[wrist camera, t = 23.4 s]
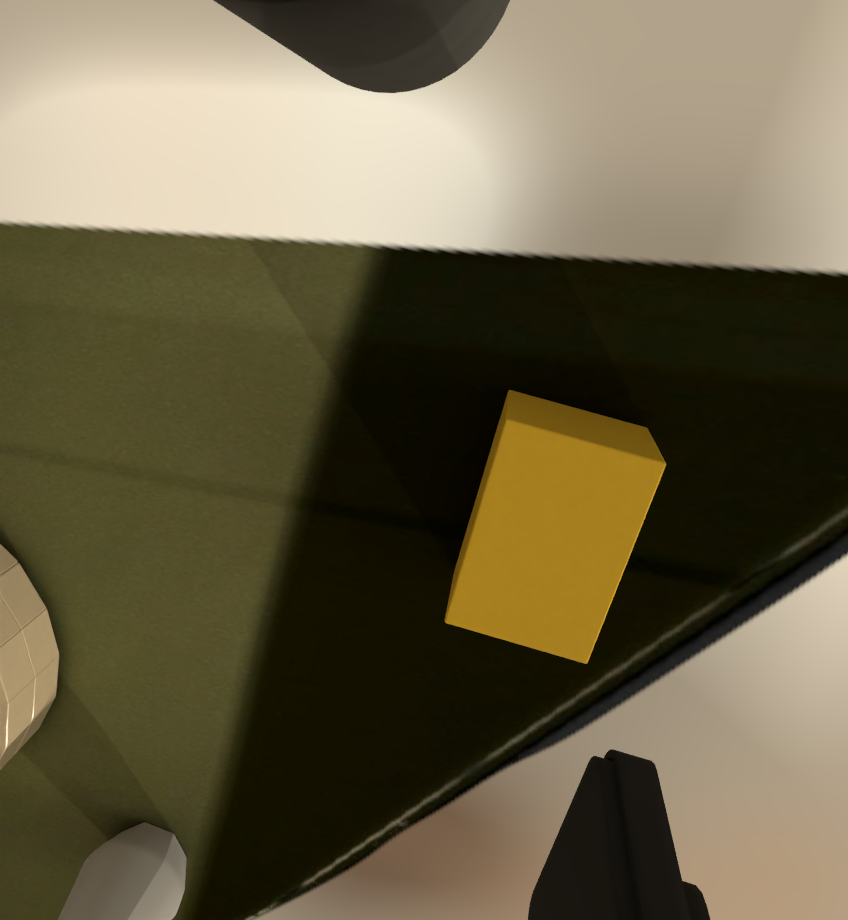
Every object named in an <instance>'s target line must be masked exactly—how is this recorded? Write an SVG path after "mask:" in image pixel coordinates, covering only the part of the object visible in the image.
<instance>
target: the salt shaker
mask: <svg viewBox="0 0 848 920" xmlns="http://www.w3.org/2000/svg"><path fill="white" fill-rule="evenodd" d="M185 874H186V856H185V854H184V852H183V850H182V848H181V846H180V844H179V843H178V841H177V839H176V837H175V835H174V834H173V833H171V832H168V831H166V830H163V829H161V828H158V827H156V826H153V825H151V824H148V823H146V822H143V823H141V824H139V825H136V826H134V827H132V828H129V829H127V830H125V831H122V832H121V833H119V834H118V835H116V836H115V837H114V838H112V839H110V840H109V841H107V842H105V843H104V844H102V845H101V846H100V847H99V848H97V849H96V850H95V851H94V852H92V853H91V854H90V856H89V857H88V858H87V859H86V860H85V862H84V864H83V866H82V868H81V871H80V873H79V875H78V877H77V879H76V881H75V884H74V886H73V888H72V890H71V892H70V895H69V897H68V899H67V901H66V903H65V905H64V908H63V910H62V912H61V914H60V916H59V919H58V920H172V919H173V917H174V916H175V915H176V913H177V910H178V908H179V905H180V902H181V899H182V896H183V893H184V890H185Z"/></svg>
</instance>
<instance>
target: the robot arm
mask: <svg viewBox="0 0 848 920" xmlns="http://www.w3.org/2000/svg"><path fill="white" fill-rule="evenodd" d="M528 920H710V917H709V913H708V909H707V905H706V903H705V900H704V897H703V894H702V892H701V891H700V890H699V889H698V888H697V886H696V885H693V884H690V883H687V882H684V881H682V878H681V874H680V870H679V865H678V861H677V857H676V852H675V848H674V843H673V839H672V835H671V830H670V826H669V822H668V817H667V813H666V808H665V804H664V800H663V795H662V791H661V787H660V782H659V778H658V774H657V770H656V767H655V764H654V763H653V762H652V761H650V760H646V759H643V758H639V757H636V756H633V755H629V754H626V753H623V752H619V751H616V750H609V751H608V752H607V753H606V755H605V757H604V759H603V758H600V757H597V756H593V757H592V758H591V759H590V761H589V763H588V765H587V768H586V770H585V772H584V775H583V777H582V779H581V782H580V784H579V786H578V788H577V791H576V793H575V795H574V798H573V800H572V803H571V805H570V807H569V809H568V812H567V815H566V817H565V819H564V821H563V823H562V826H561V828H560V831H559V833H558V835H557V837H556V840H555V842H554V844H553V847H552V849H551V851H550V854H549V856H548V858H547V861H546V863H545V865H544V868H543V870H542V872H541V875H540V877H539V879H538V882H537V884H536V886H535V889H534V891H533V894H532V898H531V902H530V908H529V915H528Z"/></svg>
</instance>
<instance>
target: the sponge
mask: <svg viewBox="0 0 848 920" xmlns="http://www.w3.org/2000/svg"><path fill="white" fill-rule="evenodd" d="M665 466H666V463H665V461H664V459H663V457H662V455H661V453H660V451H659V449H658V448H657V446H656V444H655V442H654V440H653V438H652V436H651V435H650V433H649V431H648V429H647V428H646V427H642V426H639V425H635V424H632V423H628V422H624V421H621V420H617V419H614V418H610V417H606V416H603V415H599V414H595V413H592V412H588V411H585V410H581V409H577V408H574V407H570V406H567V405H563V404H559V403H556V402H552V401H548V400H545V399H541V398H538V397H534V396H530V395H527V394H523V393H520V392H516V391H512V390H509V391H508V394H507V397H506V400H505V404H504V407H503V410H502V414H501V417H500V420H499V424H498V427H497V430H496V434H495V437H494V440H493V444H492V447H491V450H490V454H489V457H488V460H487V464H486V467H485V470H484V474H483V477H482V480H481V484H480V487H479V490H478V494H477V497H476V500H475V504H474V507H473V510H472V514H471V517H470V520H469V524H468V527H467V530H466V534H465V537H464V540H463V544H462V547H461V550H460V554H459V557H458V560H457V564H456V567H455V571H454V576H453V581H452V586H451V591H450V596H449V601H448V606H447V611H446V616H445V623H448V624H452V625H455V626H458V627H462V628H465V629H469V630H472V631H475V632H479V633H482V634H486V635H489V636H493V637H496V638H499V639H503V640H506V641H510V642H513V643H517V644H520V645H523V646H527V647H530V648H534V649H537V650H541V651H544V652H547V653H551V654H554V655H558V656H561V657H565V658H568V659H571V660H575V661H578V662H582V663H587V662H588V660H589V657H590V655H591V652H592V650H593V647H594V645H595V642H596V640H597V637H598V635H599V632H600V630H601V627H602V625H603V622H604V620H605V617H606V614H607V612H608V609H609V607H610V604H611V602H612V599H613V597H614V594H615V592H616V589H617V587H618V584H619V582H620V579H621V577H622V574H623V572H624V569H625V567H626V564H627V562H628V559H629V557H630V554H631V552H632V549H633V546H634V544H635V541H636V539H637V536H638V534H639V531H640V529H641V526H642V524H643V521H644V519H645V516H646V514H647V511H648V509H649V506H650V504H651V501H652V499H653V496H654V494H655V491H656V489H657V486H658V484H659V481H660V478H661V476H662V473H663V471H664V468H665Z"/></svg>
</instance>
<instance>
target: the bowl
mask: <svg viewBox="0 0 848 920" xmlns="http://www.w3.org/2000/svg"><path fill="white" fill-rule="evenodd" d="M58 665H59V651H58V648H57V644H56V640H55V636H54V633H53V629H52V625H51V622H50V618H49V614H48V610H47V608H46V606H45V605H44V603H43V601H42V600H41V598H40V596H39V595H38V593H37V591H36V590H35V588H34V586H33V585H32V583H31V581H30V580H29V578H28V576H27V575H26V573H25V572H24V570H23V568H22V567H21V565H20V563H18V561H17V560H16V559H15V558H14V557H13V556H12V555H11V554H10V553H9V552H8V551H7V550H6V549H5V548H4V547H3V546H2V545H1V544H0V770H1V769H2V768H3V767H4V765H5V764H6V763H7V762H8V761H9V760H10V759H11V758H12V757H13V756H14V755H15V754H16V753H17V752H18V750H19V749H20V748H21V747H22V746H23V745H24V744H25V743H26V742H27V741H28V740H29V739H30V738H31V736H32V735H33V734H34V733H35V732H36V731H37V730H38V729H39V727H40V725H41V724H42V722H43V720H44V718H45V716H46V714H47V712H48V710H49V708H50V707H51V705H52V703H53V701H54V699H55V697H56V690H57V678H58Z"/></svg>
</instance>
